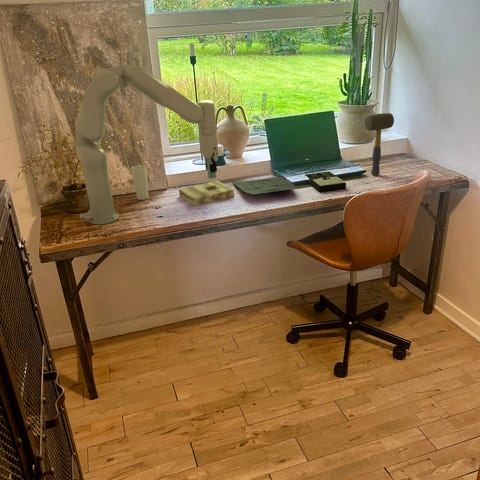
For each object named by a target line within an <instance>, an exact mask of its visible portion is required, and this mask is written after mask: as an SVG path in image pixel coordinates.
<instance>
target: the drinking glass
mask: <svg viewBox="0 0 480 480" xmlns="http://www.w3.org/2000/svg"><path fill="white" fill-rule="evenodd" d="M130 170H131V171H130V172H131V177H132V181H133V186H134V189H135V194H136V199H137V200H138V201H145V200H148V199H149V197H150V196H149V183H148V171H147V167H146V165H145V164H140V165H139V164H138V165H133V166H131V168H130Z"/></svg>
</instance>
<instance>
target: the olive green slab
mask: <svg viewBox="0 0 480 480" xmlns="http://www.w3.org/2000/svg"><path fill="white" fill-rule="evenodd" d="M178 193H179V197H180V198H181V199H183V200H184V201H186V202H187V203H188V204H190V205H191V206H193V207H198V206H202V205H206V204H211V203H214V202H218V201H222V200H226V199H231V198H235V189H233V188H232V187H230V186H228V185H226V184H224V183H222V182H221V181H219V180H215V181H210V182H205V183H200V184H196V185H192V186H188V187H184V188H179V189H178Z"/></svg>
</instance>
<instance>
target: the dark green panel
mask: <svg viewBox="0 0 480 480" xmlns="http://www.w3.org/2000/svg"><path fill="white" fill-rule="evenodd" d="M232 183H233V185H235V186H236V187H238V188H239V189H240V190H241V191H243V192H245V193H246V194H250V195H257V194H265V193H273V192H279V191H288V190H295V189H296V187H297V186H296V185H295V184H294V183H292V182H291V181H288V180H287V179H285V178H282V177H280V176H274V177H273V176H272V177H266V178H259V179H250V180H242V181H234V182H232Z"/></svg>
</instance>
